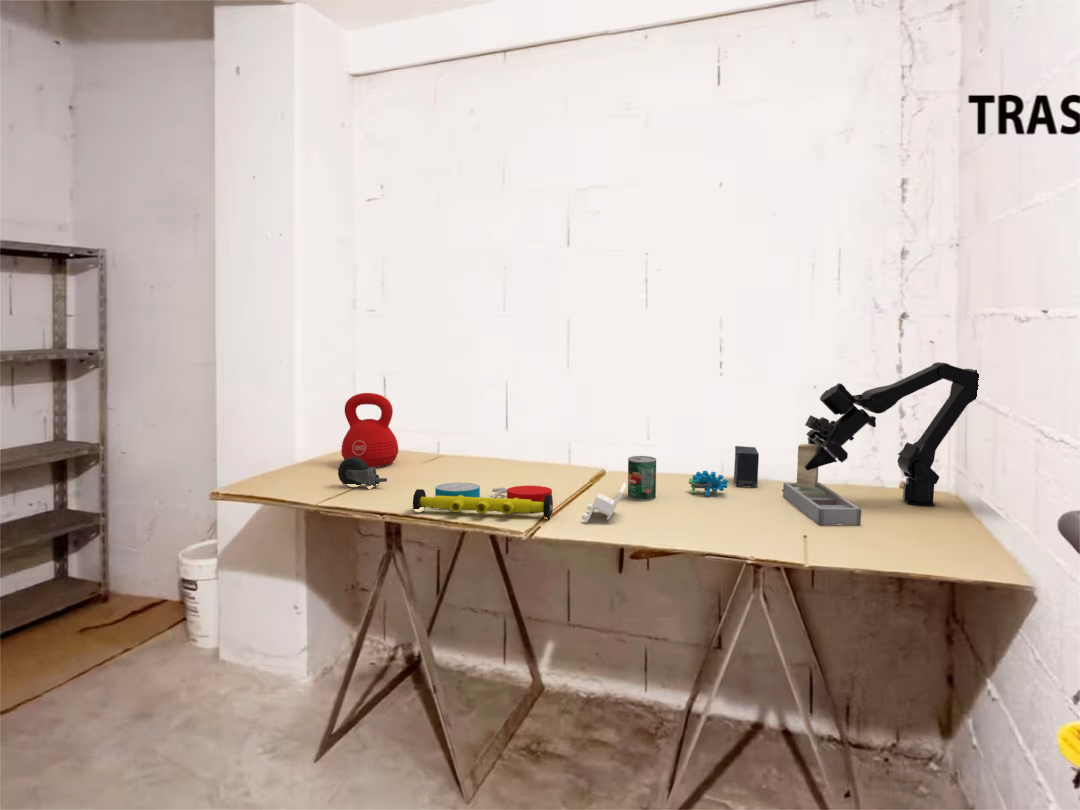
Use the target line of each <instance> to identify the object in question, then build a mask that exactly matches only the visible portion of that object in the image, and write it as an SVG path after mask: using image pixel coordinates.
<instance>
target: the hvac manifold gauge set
mask: <svg viewBox="0 0 1080 810" xmlns="http://www.w3.org/2000/svg"><path fill="white" fill-rule="evenodd" d="M480 489H481V486H480V485H479V484H476V483H470V482H447V483H442V484H438V485H436V486H435V490H434V491H435V492H434V494H435V495H434V496H433V497H432V496H427V495H426V491H425V490H424V489H421V488H420V489H419V488H417V489H415V491H414V494H413V498H412V510H413V509H419V508H420V507H425V508H433V509H435V508H439V509H438V510H449V509H451V511H452V512H453V513H458V512H460V511H471V510H476V511H475V512H476V513H478V514H485V513H486V512H493V511H497V513H502V514H504V515H509V514H511V513H515V512H518V513H519V514H520V513H521V514H532V513H543V517H544V516H545V517H547V518H548V519H550V516H551V514H552V515H553V507H554V505H553V502H554V500H553V489H552V488H550V487H548V486H543V485H517V486H511V487H509V488H506V487H497V488H492V490H491V491H492V492H493V493H495V494H493V495H492V496H491V497H481V495H480V494H481V490H480ZM502 494H506V498H503V497H502V498H501V497H499V496H500V495H502ZM550 520H551V519H550Z"/></svg>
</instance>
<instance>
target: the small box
mask: <svg viewBox="0 0 1080 810" xmlns="http://www.w3.org/2000/svg"><path fill="white" fill-rule="evenodd" d="M734 452H735V453H734V466H733V467H734V469H733V470H734V472H733V480H735V481H734V485H735V484H736V485H735V487H740V486H750V487H749V488H757V487H758V478H759V463H760V462H759V460H760V459H759V456H760V454H759V452H758V450H757V448H756V447H755V446H742V445H735V446H734Z"/></svg>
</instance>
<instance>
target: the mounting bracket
mask: <svg viewBox="0 0 1080 810" xmlns="http://www.w3.org/2000/svg"><path fill="white" fill-rule="evenodd" d="M626 486H627V483H625V482H623V483H622V485H621V488H620V489H619V491H618V494H617V495H616V497H615V498H614V499H615V500H614V499H612V498H610V497H608V496H606V495H604V494H602V493H598V494H597V496H596V497H595V499H594V502H593V503H589V504H588V506H587V508H586V510H588V511H589V512H588V513H587V512H585V511H584V512H583V514H582V516H581V519H582V520H584V523H585V524H587V523H588V522H589V520H590V519H591V517H592V515H593V514H594V512H595V510H596V511H598V512H600V513H602V514H603V515H606V517H605V518H606V519H605V520H606V521H607V522H610V519H611V517H612V516H613V513H614V511H615V509H616V507H617V505H618V503H619V501H620V499H621V497H622V495H623V492H624V490H625V488H626Z"/></svg>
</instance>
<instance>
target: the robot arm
mask: <svg viewBox="0 0 1080 810" xmlns="http://www.w3.org/2000/svg"><path fill="white" fill-rule="evenodd" d="M973 369H974V368H961V367H957V366H953V365H951V364H949V363H946V362H941V361H940V362H939V361H937V362H934V363H932V365H930V366H928V367H925V368H924V369H921V370H919V371H917V372H915V373H912V374H910V375H909V376H907V377H905V378H902V379H900V380H898V381H896V382H894V383H892V384H888V385H882V386H878V387H873V388H871V389H868V390H864V391H863V392H862V393H861V394H855V395H852V393H850V392H849V391H848V390H847V388H846V386H845V385H843V383H840V382H839V383H837V384H836V385H834V386H832V387H830V388H829V389H826V390H825V391H824V392H823V393H822V394H821V395H820V397H819V401H820V402H822V404H823V405H825V406H826V408H827V409H828V410H830V412H832V413H833V414H834V415H840V417H839V418H838V419H837V420H836V421H835V420H831V421H830V420H829V419H828V418H826V417H823V416H822V417H820V418H818V417H814V415H811V414H809V417H808V419H807V420H806V423H805V427H808V428H809V429H810V430H809V431H808V432H807V433H806V436H807V444H814V445H818V452H817V453H816V454H815V455H814V457H813V458H812V459H811V460H810V461H809V462H808V464H807V465H806V466H805V468H806V469H807V470H811V469H814V468H817V467H818V468H819V467H822V466H825V465H829V464H833V463H837V462H840V463H843V462H845V461H846V460H847V459H848V458H849V457H848V456H849V453H848V451H846V450H845V449H844V447H843V445H845V444H846V443H847V442H848V441H850V442H852V441H854V439H855V437H854V436H855V435H856V434H857V433H858V432H859V431H860V430H861V429H862V428H864V427H865V426H866V425H868V426H870V427H872V428H876V427H877V425H876V423H877V421H876V420H877V417H876V416H874V415H869V413H867V412H866V411H868V412H871V413H873V414H877V415H878V414H883V413H885V412H887V411H888V410H889V409H891V408H893V407H894V406H896V404H897V403H898V402H899V401H900V400H902V399H903V398H905V397H907V396H910V395H911V394H914V393H916V392H917V391H920V390H922V389H924V388H926V387H928V386H930V385H933V384H935V383H937V382H940V381H941V380H945V381H948V382H952V383H951V386H950V391H949V396H948V397H947V398H946V401H945V402H944V404H942V406H941V408H940V409H939V410H938V411H937V413H936V414H935V416H934V417H933V419H932V420H931V422H930V423H929V425H928V427H926V428H925V431H924V432H923V433H922V435H921V436H920V438H919V439H918V440H917V441H915V442H914V443H910V442H906V443H905V444H904V447H903V448H902V449H901V451H900V452H898V453H897V455H898V458H897V465H898V467H899V469H900V470H901V471H902V472H903V476H904V477H905V478H906V479H905V483H903V490H902V498H903V500H904V501H905V502H906V503H907V504H908V505H916V506H917V505H919V506H929V507H930V506H931V507H932V506H935V505H936V504H935V502H934V496H935V495H934V494H935V492H934V491H935V485H937V484H938V482H939V479H940V475H938V473H936V471H935V470H933V468H932V466H933V464H934V461H935V456H936V450H937V449H938V448H939V446H940V444H942V441H943V440H944V439H945V438H946V436H947V434H948V433H949V431H951V429H952V427H954V425H955V423H956V422H957V420H958V419H959V417H960V416H961V415H962V413H963V412H964V410H965V409H966V407H968V405H969V404H971V403H972V402H974V401H975V400H977V399H976V397H977V390H978V386H979V385H978V380H979V379H978V378H979V374H978V373H977V370H978V369H975V370H973ZM856 405H857V406H858V407H862V408H861V409H859V408H858V407H857V406H856Z"/></svg>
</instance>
